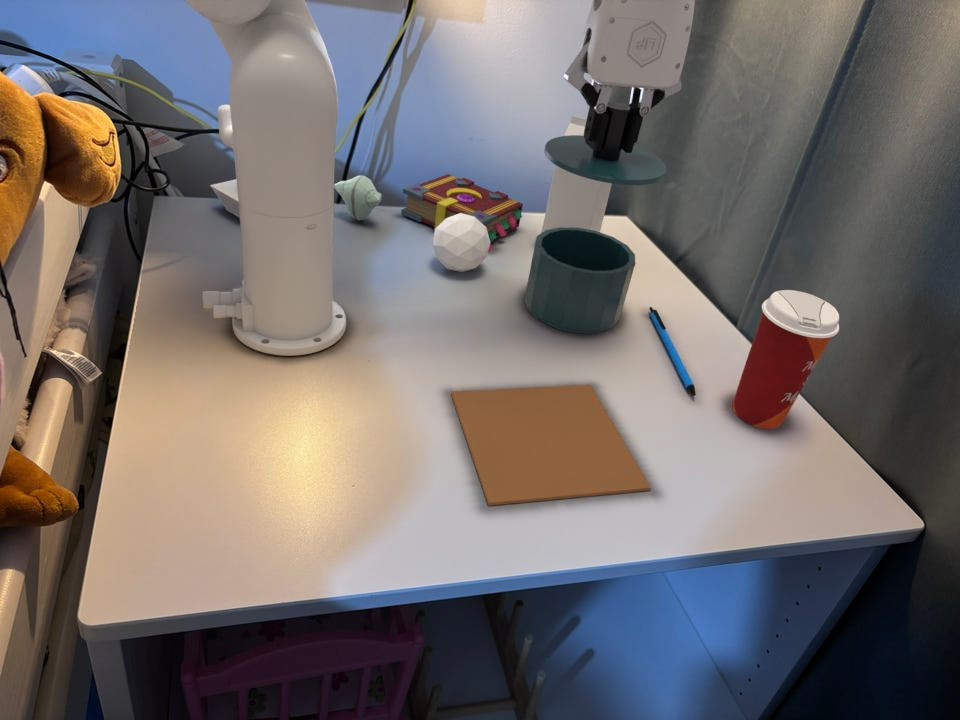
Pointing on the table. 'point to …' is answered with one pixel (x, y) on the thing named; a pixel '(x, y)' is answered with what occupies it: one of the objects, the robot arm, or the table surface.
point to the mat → (545, 444)
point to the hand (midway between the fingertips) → (608, 146)
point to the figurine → (229, 188)
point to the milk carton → (575, 195)
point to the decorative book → (462, 204)
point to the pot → (578, 279)
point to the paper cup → (783, 355)
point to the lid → (607, 154)
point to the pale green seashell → (359, 196)
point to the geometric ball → (461, 242)
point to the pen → (672, 351)
